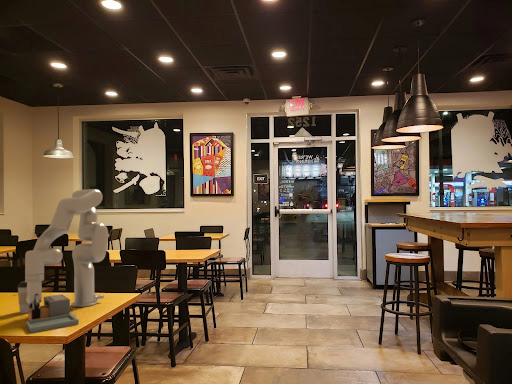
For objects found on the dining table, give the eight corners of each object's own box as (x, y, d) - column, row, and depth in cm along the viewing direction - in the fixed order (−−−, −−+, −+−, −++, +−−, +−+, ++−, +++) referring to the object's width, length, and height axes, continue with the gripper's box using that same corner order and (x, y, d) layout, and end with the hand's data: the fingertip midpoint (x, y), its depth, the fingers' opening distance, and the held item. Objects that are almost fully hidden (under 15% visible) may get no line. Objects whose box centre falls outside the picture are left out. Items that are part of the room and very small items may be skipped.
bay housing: (69, 317, 179) (69, 298, 179) (50, 320, 174) (50, 301, 174) (61, 310, 191) (61, 293, 192) (43, 313, 186) (43, 296, 187)
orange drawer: (57, 314, 186) (57, 303, 186) (60, 317, 180) (60, 306, 181) (26, 319, 178) (26, 308, 178) (29, 322, 172) (29, 311, 173)
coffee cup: (41, 310, 192) (41, 280, 193) (21, 314, 185) (21, 283, 186) (34, 308, 198) (34, 278, 199) (14, 311, 191) (14, 281, 192)
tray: (71, 318, 177) (71, 313, 177) (78, 324, 166) (78, 319, 167) (25, 326, 166) (25, 321, 166) (30, 333, 155) (30, 328, 155)
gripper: (22, 276, 182) (22, 314, 181) (28, 280, 169) (28, 322, 168) (40, 274, 187) (40, 311, 186) (47, 278, 173) (47, 318, 172)
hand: (34, 316), depth 177 cm, fingers open, 7 cm apart
